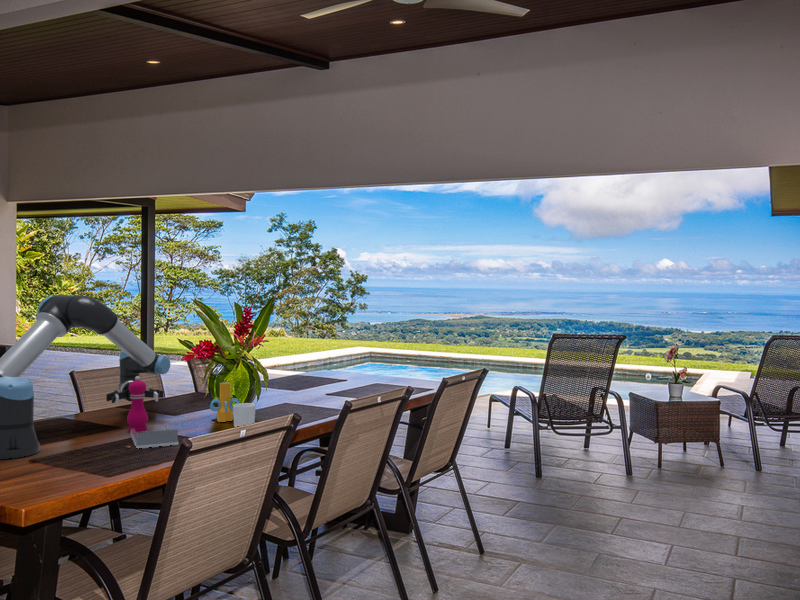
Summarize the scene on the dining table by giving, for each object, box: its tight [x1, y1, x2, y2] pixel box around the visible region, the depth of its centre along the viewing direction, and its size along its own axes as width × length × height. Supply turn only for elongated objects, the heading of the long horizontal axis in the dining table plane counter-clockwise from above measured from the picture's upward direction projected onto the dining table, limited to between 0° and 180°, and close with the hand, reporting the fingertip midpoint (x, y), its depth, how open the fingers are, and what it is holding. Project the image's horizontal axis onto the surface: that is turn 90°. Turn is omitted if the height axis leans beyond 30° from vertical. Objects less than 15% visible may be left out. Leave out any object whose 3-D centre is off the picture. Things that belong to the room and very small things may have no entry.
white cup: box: [232, 402, 256, 427], centre depth 240 cm, size 8×8×10 cm
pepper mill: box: [126, 375, 149, 433], centre depth 241 cm, size 7×7×20 cm
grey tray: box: [129, 424, 179, 450], centre depth 228 cm, size 22×13×5 cm, turn 27°
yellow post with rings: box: [209, 381, 240, 423], centre depth 259 cm, size 12×10×15 cm
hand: (137, 399), depth 246 cm, fingers open, 13 cm apart
